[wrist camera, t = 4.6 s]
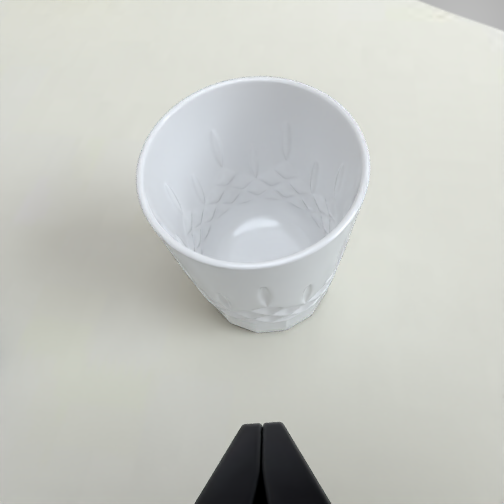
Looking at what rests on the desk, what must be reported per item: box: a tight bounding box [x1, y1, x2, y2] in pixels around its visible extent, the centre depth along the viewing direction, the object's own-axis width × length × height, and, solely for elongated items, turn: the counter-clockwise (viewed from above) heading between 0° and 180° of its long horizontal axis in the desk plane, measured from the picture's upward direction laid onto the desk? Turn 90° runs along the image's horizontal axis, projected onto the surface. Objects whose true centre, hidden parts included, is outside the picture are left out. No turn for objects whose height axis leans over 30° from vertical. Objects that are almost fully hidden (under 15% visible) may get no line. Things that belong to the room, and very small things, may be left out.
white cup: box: [136, 76, 370, 333], centre depth 19 cm, size 8×8×10 cm
